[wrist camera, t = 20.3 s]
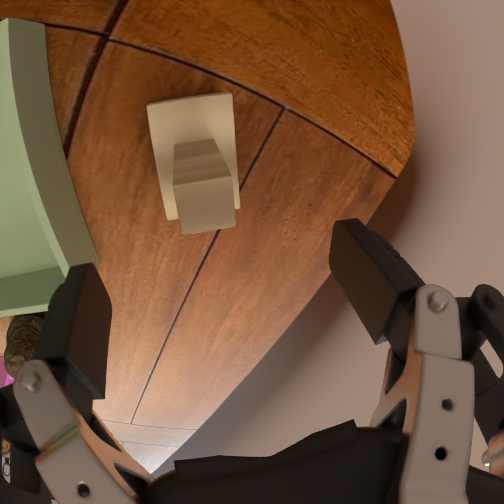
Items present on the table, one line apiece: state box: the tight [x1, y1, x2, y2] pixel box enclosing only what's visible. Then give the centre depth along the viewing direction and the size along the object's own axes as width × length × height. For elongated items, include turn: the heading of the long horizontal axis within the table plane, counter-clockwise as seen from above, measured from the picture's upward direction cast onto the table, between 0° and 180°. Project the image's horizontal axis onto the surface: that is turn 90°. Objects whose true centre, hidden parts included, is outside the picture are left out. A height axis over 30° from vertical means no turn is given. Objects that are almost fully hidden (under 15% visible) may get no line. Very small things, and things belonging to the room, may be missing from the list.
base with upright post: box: [146, 92, 240, 235], centre depth 17 cm, size 8×5×10 cm, turn 3°
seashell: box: [4, 314, 45, 378], centre depth 24 cm, size 11×12×10 cm
